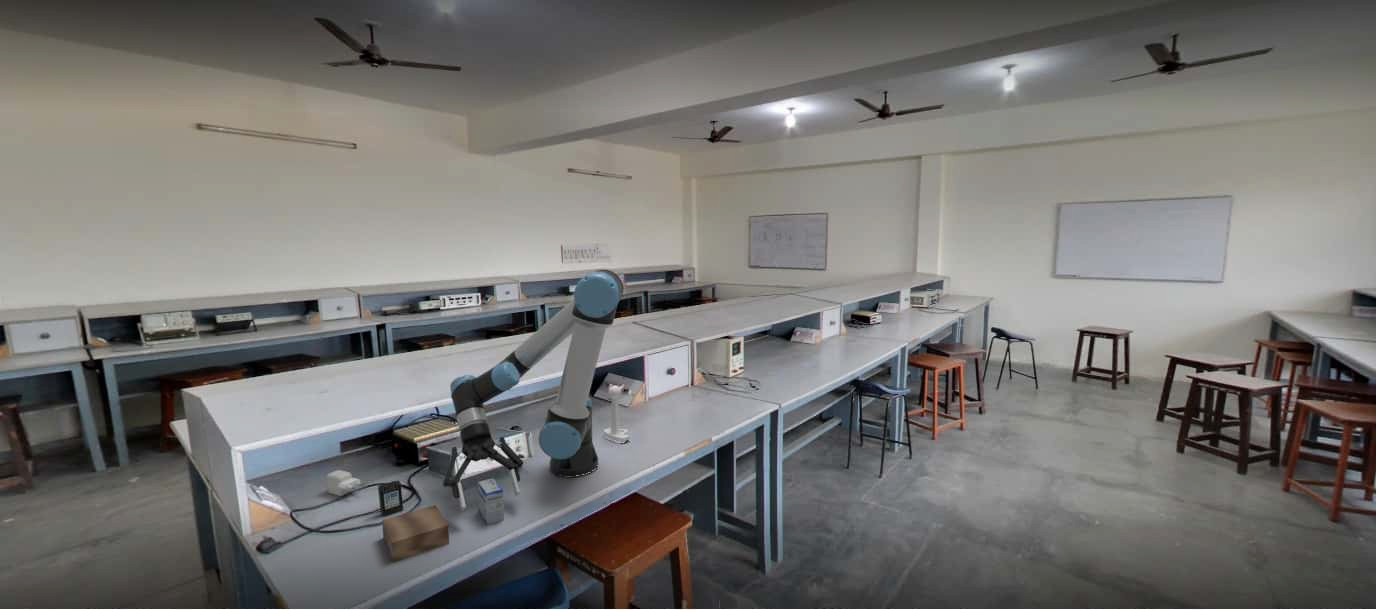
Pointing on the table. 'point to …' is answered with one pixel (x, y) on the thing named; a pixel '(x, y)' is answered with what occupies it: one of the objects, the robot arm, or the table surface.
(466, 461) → the robot arm
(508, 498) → the table surface
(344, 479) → the power adapter
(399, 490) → the ink cartridge
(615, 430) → the joystick
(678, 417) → the table surface
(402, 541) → the walnut block
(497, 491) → the medicine box
